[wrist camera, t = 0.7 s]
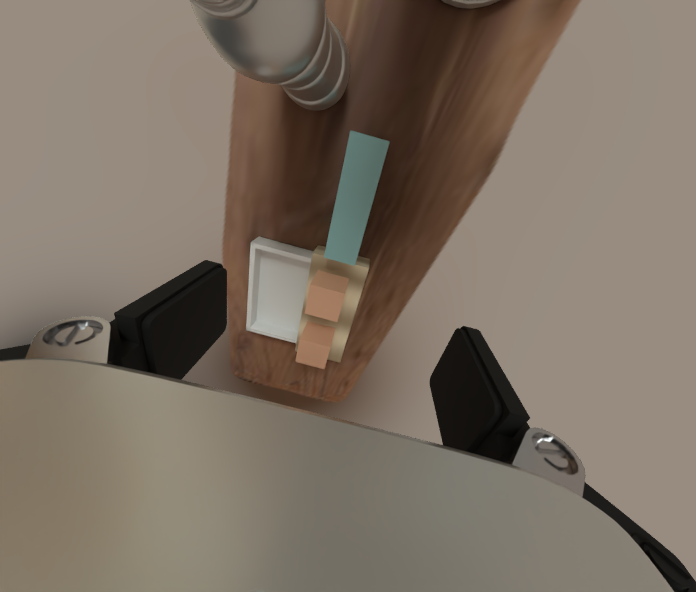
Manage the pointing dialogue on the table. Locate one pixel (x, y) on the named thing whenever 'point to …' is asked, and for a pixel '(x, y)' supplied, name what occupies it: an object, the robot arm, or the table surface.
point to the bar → (355, 196)
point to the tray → (276, 288)
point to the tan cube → (326, 295)
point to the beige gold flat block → (350, 301)
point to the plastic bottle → (280, 45)
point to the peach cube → (315, 344)
